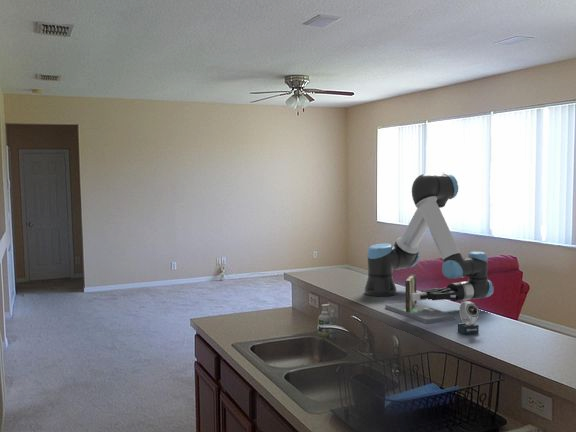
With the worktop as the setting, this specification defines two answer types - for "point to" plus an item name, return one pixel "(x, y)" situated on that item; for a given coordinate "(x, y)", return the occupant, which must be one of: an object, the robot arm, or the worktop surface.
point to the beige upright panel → (410, 291)
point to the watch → (472, 313)
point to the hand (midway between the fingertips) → (411, 297)
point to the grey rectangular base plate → (421, 313)
